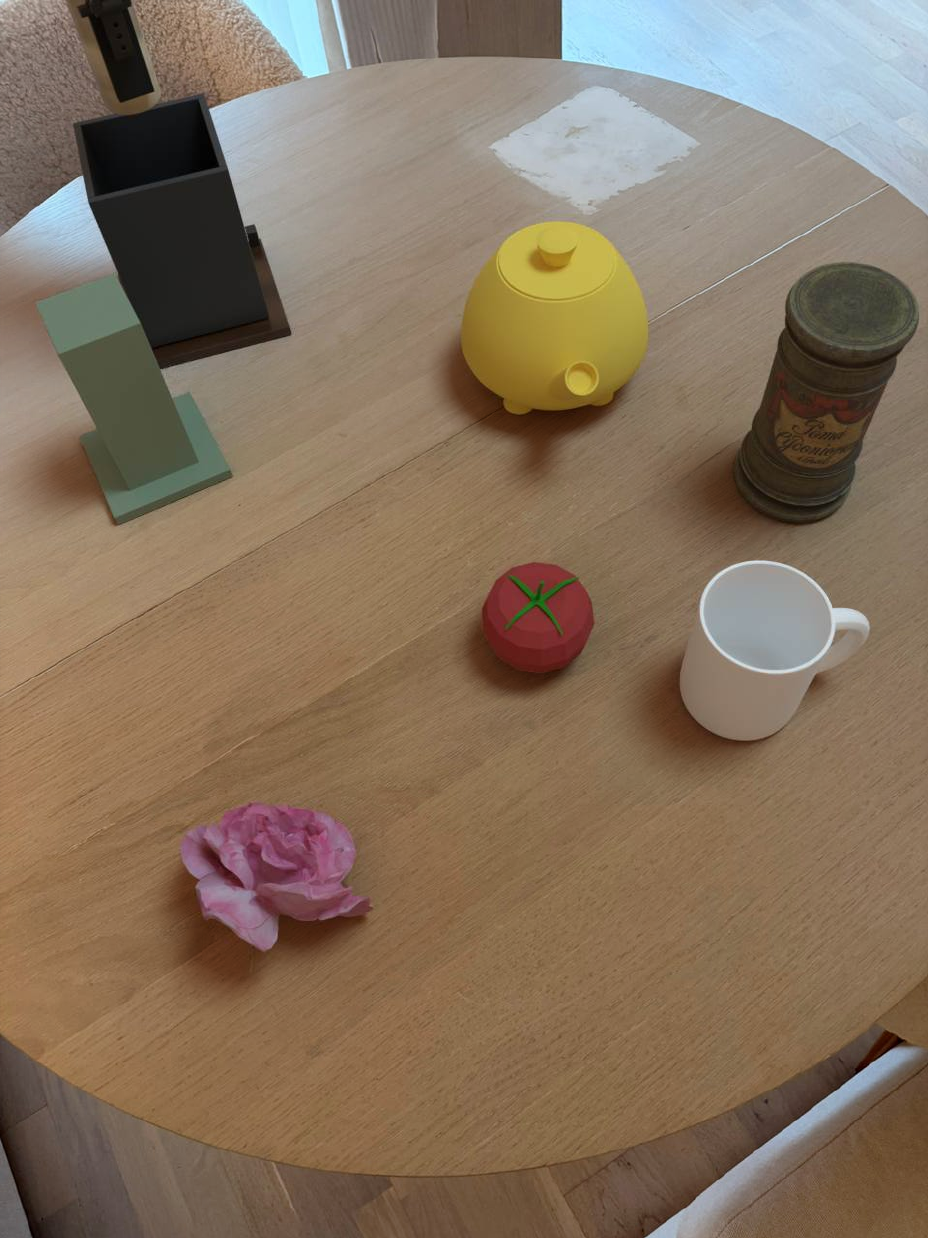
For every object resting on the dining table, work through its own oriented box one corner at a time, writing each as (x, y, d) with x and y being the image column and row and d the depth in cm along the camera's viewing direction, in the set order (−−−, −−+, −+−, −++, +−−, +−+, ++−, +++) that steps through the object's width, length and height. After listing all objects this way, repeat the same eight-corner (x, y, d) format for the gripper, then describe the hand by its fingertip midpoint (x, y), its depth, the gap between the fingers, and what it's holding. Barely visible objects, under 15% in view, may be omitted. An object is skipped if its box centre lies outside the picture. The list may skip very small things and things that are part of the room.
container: (727, 437, 83) (773, 257, 68) (838, 436, 83) (910, 254, 67) (739, 525, 79) (792, 353, 63) (857, 524, 78) (939, 351, 63)
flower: (284, 821, 71) (345, 744, 65) (344, 950, 67) (415, 881, 61) (131, 861, 64) (184, 778, 58) (188, 1009, 60) (251, 937, 54)
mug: (825, 624, 74) (866, 541, 65) (866, 725, 69) (916, 652, 61) (664, 649, 73) (683, 570, 65) (695, 753, 69) (720, 683, 60)
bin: (269, 317, 92) (228, 168, 79) (149, 348, 90) (88, 202, 78) (245, 242, 97) (203, 92, 84) (132, 270, 96) (72, 122, 83)
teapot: (669, 467, 82) (694, 339, 70) (479, 488, 82) (471, 364, 70) (624, 298, 92) (639, 162, 81) (455, 317, 92) (445, 183, 80)
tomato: (611, 660, 73) (620, 604, 67) (517, 708, 72) (517, 655, 65) (554, 580, 77) (557, 519, 70) (464, 623, 75) (459, 565, 69)
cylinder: (97, 93, 78) (44, -47, 70) (151, 75, 79) (105, -65, 71) (114, 122, 76) (62, -19, 68) (169, 103, 77) (125, -38, 69)
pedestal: (83, 443, 87) (0, 295, 73) (192, 399, 89) (132, 247, 75) (118, 525, 82) (37, 383, 68) (233, 476, 84) (176, 329, 70)
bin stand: (291, 334, 92) (286, 312, 90) (140, 374, 91) (130, 352, 88) (262, 245, 99) (256, 222, 97) (120, 281, 97) (111, 258, 95)
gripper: (94, -299, 53) (212, 120, 73) (10, -388, 61) (136, 10, 81) (-47, -264, 51) (112, 154, 71) (-114, -360, 60) (46, 38, 80)
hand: (125, 77), depth 76 cm, fingers closed on cylinder, 4 cm apart
